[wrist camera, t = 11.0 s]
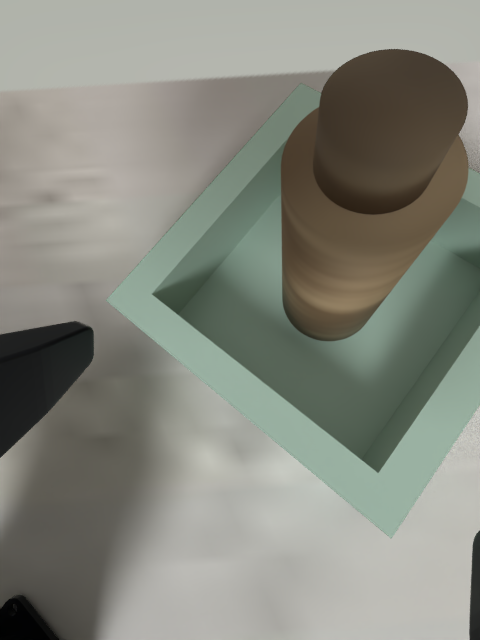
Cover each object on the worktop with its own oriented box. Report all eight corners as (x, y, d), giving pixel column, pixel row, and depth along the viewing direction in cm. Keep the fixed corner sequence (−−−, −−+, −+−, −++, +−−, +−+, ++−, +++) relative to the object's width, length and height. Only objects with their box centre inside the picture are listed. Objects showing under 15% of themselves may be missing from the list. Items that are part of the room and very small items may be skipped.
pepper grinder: (391, 315, 20) (566, 131, 8) (309, 357, 20) (352, 239, 8) (343, 242, 22) (423, -9, 9) (266, 281, 21) (243, 79, 9)
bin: (527, 273, 20) (594, 231, 16) (365, 511, 18) (391, 538, 14) (297, 144, 25) (300, 82, 20) (141, 325, 22) (105, 300, 18)
